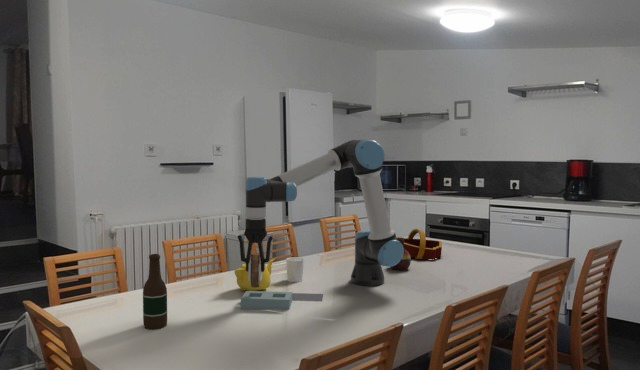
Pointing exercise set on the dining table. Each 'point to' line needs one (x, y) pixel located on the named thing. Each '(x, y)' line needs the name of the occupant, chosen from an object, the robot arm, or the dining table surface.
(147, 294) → the beer bottle
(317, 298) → the mat
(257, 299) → the hole block
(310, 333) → the dining table surface
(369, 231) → the robot arm
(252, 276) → the peg
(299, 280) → the white cup
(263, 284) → the teapot
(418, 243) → the decorative basket
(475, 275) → the dining table surface
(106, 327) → the dining table surface
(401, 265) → the vase
